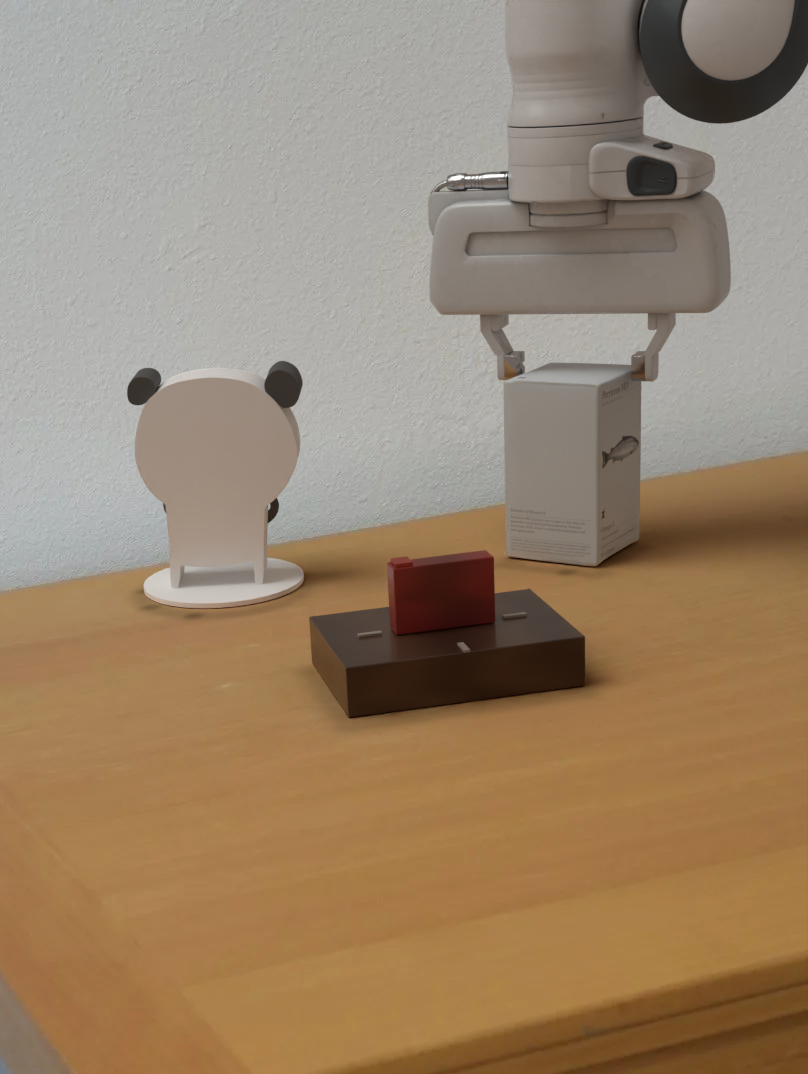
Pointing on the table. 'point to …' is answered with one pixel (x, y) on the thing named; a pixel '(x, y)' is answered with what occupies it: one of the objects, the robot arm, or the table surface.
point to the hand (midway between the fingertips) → (577, 379)
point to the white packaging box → (572, 462)
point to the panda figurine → (218, 479)
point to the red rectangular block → (441, 592)
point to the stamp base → (446, 657)
